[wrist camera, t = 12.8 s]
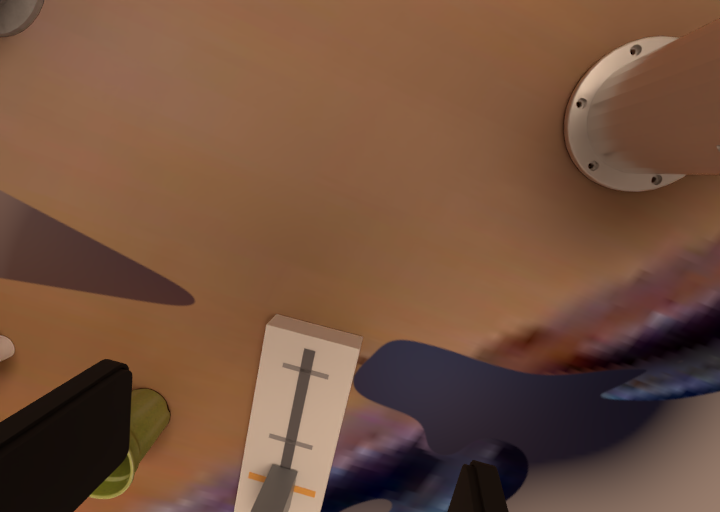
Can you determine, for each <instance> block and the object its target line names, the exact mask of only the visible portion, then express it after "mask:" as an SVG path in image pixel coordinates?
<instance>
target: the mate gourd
mask: <svg viewBox="0 0 720 512" xmlns="http://www.w3.org/2000/svg"><path fill="white" fill-rule="evenodd" d="M43 3H44V0H0V37H6V36H12V35H16V34H18V33H20V32H22V31H24V30H25V29H26V28H27V27H28V26H30V25H31V24H32V23H33V21H34V20H35V19H36V17H37V16H38V14H39V12H40V10H41V8H42V6H43Z"/></svg>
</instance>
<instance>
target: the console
mask: <svg viewBox="0 0 720 512" xmlns="http://www.w3.org/2000/svg"><path fill="white" fill-rule="evenodd" d="M362 340H363V337H362V336H358V335H355V334H351V333H347V332H343V331H339V330H336V329H332V328H328V327H324V326H320V325H317V324H313V323H309V322H305V321H302V320H298V319H294V318H290V317H286V316H283V315H279V314H276V315H275V316H274V317H273V318H272V319H271V320H270V321H269V322H268V323H267V324H266V330H265V336H264V341H263V347H262V353H261V359H260V364H259V370H258V376H257V382H256V388H255V393H254V399H253V405H252V411H251V416H250V422H249V428H248V434H247V439H246V445H245V451H244V457H243V462H242V468H241V474H240V480H239V485H238V491H237V497H236V503H235V509H234V512H251V509H252V507H253V505H254V503H255V501H256V498H257V496H258V494H259V492H260V490H261V488H262V486H263V483H264V481H265V479H266V477H267V475H268V473H269V470H270V468H271V466H272V464H273V465H277V466H280V467H284V468H287V469H290V470H294V471H297V472H298V473H297V477H296V482H295V487H294V491H293V496H292V500H291V505H290V508H289V511H288V512H320V511H321V507H322V503H323V499H324V495H325V491H326V487H327V483H328V478H329V474H330V470H331V466H332V462H333V458H334V454H335V450H336V446H337V442H338V438H339V434H340V430H341V425H342V421H343V417H344V413H345V409H346V405H347V401H348V397H349V393H350V389H351V385H352V381H353V377H354V372H355V368H356V364H357V360H358V356H359V352H360V348H361V344H362Z"/></svg>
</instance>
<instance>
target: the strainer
mask: <svg viewBox="0 0 720 512" xmlns="http://www.w3.org/2000/svg"><path fill="white" fill-rule="evenodd" d="M14 351H15V348H14V345H13V343H12V341H11V340H10V339H9V338H7V337H5V336H2V335H0V361H2V360H5V359H7V358H9V357H11V356H12V355H13V354H14Z"/></svg>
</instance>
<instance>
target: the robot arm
mask: <svg viewBox="0 0 720 512" xmlns="http://www.w3.org/2000/svg"><path fill="white" fill-rule="evenodd" d="M630 51H632V55H631V53H630ZM576 102H578V103H579V104H580V106H579V108H577V106H576ZM564 137H565V142H566V147H567V150H568V152H569V154H570V157H571V159H572V161H573V162H574V164H575V165H576V166H577V168H578V169H579V170H580V171H581V172H582V173H583V174H584V175H585V176H586V177H587V178H588V179H590V180H592V181H593V182H595V183H597V184H599V185H601V186H604V187H607V188H610V189H613V190H620V191H634V192H640V191H647V190H654V189H657V188H660V187H664V186H667V185H669V184H671V183H673V182H675V181H677V180H679V179H681V178H683V177H685V176H686V175H687V174H701V175H720V18H719V19H717V20H715V21H713V22H711V23H709V24H707V25H705V26H703V27H701V28H699V29H697V30H695V31H693V32H691V33H689V34H687V35H685V36H683V37H681V38H679V37H671V36H654V37H645V38H642V39H638V40H635V41H632V42H629V43H627V44H625V45H623V46H621V47H619V48H617V49H615V50H613V51H611V52H610V53H608V54H607V55H605V56H604V57H602V58H601V59H600V60H599V61H597V62H596V63H595V64H594V65H593V66H592V67H590V69H589V70H588V71H587V72H586V73H585V74H584V76H583V77H582V78H581V79H580V81H579V82H578V84H577V86H576V87H575V89H574V91H573V92H572V95H571V97H570V100H569V102H568V105H567V108H566V114H565V119H564ZM589 163H590V164H591V168H590V169H589V168H588V165H589ZM652 178H653V181H652V182H651V180H652ZM131 395H132V373H131V371H129V367H128V366H127V365H126V364H124V363H120V362H116V361H113V360H109V359H104V360H102V361H100V362H98V363H97V364H95V365H93V366H92V367H90V368H88V369H87V370H85V371H84V372H82V373H80V374H79V375H77V376H75V377H74V378H72V379H70V380H69V381H67V382H66V383H64V384H62V385H61V386H59V387H57V388H56V389H54V390H52V391H51V392H49V393H48V394H46V395H44V396H43V397H41V398H39V399H38V400H36V401H34V402H33V403H31V404H30V405H28V406H26V407H25V408H23V409H21V410H20V411H18V412H16V413H15V414H13V415H12V416H10V417H8V418H7V419H5V420H3V421H2V422H0V512H74V511H75V510H76V509H77V508H78V507H79V506H80V505H81V504H82V503H83V502H84V501H85V500H86V499H87V498H88V497H89V496H90V495H91V494H92V493H93V492H94V491H95V490H96V489H97V488H98V487H99V486H100V485H101V484H102V483H103V482H104V481H105V480H106V479H107V478H108V477H109V476H110V475H111V474H112V473H113V472H114V471H115V470H116V469H117V468H118V467H119V466H120V465H121V463H122V462H123V461H124V460H125V458H126V456H127V454H128V451H129V442H130V419H131ZM448 512H508V508H507V504H506V501H505V497H504V493H503V489H502V486H501V482H500V478H499V474H498V471H497V468H496V467H495V466H493V465H489V464H486V463H482V462H478V461H475V460H472V462H471V463H470V465H466V464H464V465H463V466H462V469H461V472H460V475H459V478H458V481H457V484H456V487H455V490H454V493H453V497H452V500H451V503H450V506H449V509H448Z"/></svg>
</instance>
